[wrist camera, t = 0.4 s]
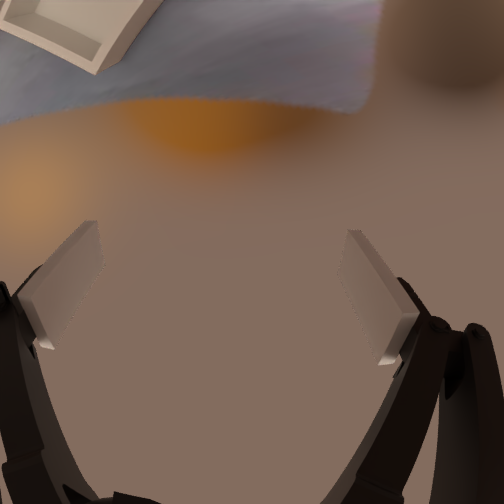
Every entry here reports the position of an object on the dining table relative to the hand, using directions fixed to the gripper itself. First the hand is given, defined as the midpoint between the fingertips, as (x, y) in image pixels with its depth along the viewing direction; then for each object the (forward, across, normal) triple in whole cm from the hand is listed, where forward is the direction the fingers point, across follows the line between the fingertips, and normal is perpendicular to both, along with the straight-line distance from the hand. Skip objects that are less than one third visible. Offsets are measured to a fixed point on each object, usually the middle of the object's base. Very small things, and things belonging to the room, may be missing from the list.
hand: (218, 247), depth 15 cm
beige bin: (+21, -17, +25) cm, 37 cm away
